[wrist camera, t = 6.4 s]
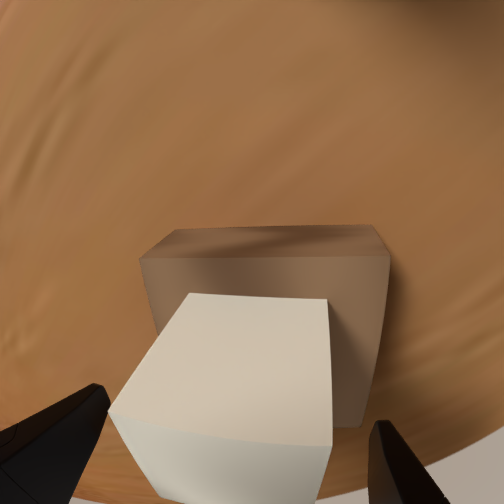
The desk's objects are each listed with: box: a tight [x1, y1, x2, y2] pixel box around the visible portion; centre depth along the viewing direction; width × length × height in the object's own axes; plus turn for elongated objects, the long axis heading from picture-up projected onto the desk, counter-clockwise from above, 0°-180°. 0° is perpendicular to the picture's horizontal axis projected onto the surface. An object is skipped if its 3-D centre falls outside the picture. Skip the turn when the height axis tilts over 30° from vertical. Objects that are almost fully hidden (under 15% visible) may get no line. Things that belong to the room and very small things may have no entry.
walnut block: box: [139, 225, 391, 428], centre depth 14 cm, size 9×9×4 cm
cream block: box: [108, 293, 332, 504], centre depth 9 cm, size 5×5×6 cm
